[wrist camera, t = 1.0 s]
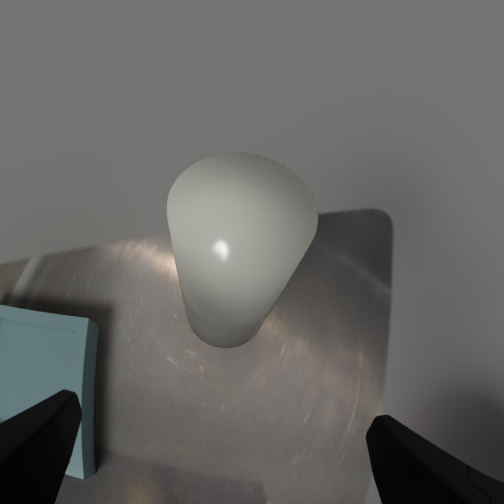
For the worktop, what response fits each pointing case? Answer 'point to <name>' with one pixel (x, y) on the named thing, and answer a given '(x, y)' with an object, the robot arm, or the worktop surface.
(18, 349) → the tray
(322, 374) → the worktop surface
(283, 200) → the frosted white cylinder
